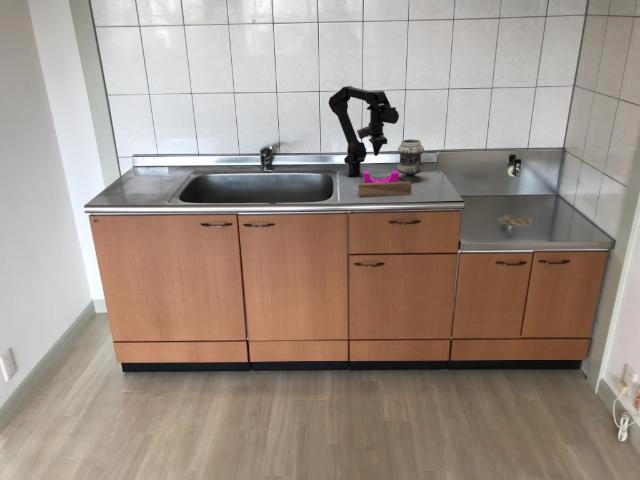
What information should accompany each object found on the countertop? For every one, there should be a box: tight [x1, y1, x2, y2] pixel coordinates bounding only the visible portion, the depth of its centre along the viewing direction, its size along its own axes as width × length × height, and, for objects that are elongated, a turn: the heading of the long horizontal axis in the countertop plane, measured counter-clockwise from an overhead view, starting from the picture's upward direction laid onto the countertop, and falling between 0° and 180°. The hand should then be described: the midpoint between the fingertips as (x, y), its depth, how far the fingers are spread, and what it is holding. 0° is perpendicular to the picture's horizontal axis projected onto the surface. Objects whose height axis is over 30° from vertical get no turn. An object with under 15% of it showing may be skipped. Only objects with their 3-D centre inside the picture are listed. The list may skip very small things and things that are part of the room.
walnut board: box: [357, 180, 412, 198], centre depth 214 cm, size 3×22×5 cm, turn 96°
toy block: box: [363, 170, 400, 183], centre depth 223 cm, size 15×6×8 cm, turn 88°
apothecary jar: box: [396, 138, 425, 183], centre depth 231 cm, size 12×12×18 cm
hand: (375, 155), depth 229 cm, fingers closed
